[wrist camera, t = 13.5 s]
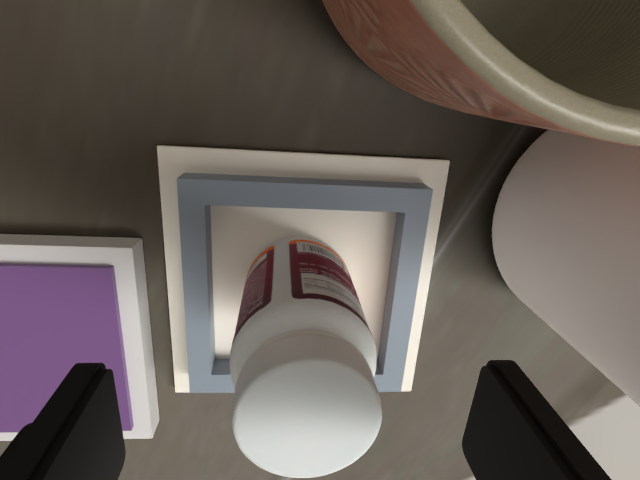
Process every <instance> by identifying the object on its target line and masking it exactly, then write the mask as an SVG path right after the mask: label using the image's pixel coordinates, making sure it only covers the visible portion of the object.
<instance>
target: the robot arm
mask: <svg viewBox="0 0 640 480" xmlns="http://www.w3.org/2000/svg"><path fill="white" fill-rule="evenodd" d="M462 448H463V452H464V455H465V458H466V460H467V462H468V464H469V466H470V468H471V470H472V472H473V474H474V476H475V478H476V480H611V479H610V477H609V476H608V475H607V474H606V473H605V471H604V470H603V469H602V468H601V466H600V465H599V464H598V463H597V462H596V461H595V459H594V458H593V457H592V455H590V453H589V452H588V451H587V449H586V448H585V447H584V446H583V445H582V443H581V442H580V441H579V440H578V439H577V437H576V436H575V435H574V433H573V432H572V431H571V430H570V429H569V427H568V426H567V425H566V424H565V422H564V421H563V420H562V419H561V418H560V416H559V415H558V414H557V413H556V411H555V410H554V409H553V408H552V407H551V405H550V404H549V403H548V402H547V400H546V399H545V398H544V397H543V396H542V394H541V393H540V392H539V391H538V389H537V388H536V387H535V386H534V385H533V383H532V382H531V381H530V380H529V378H528V377H527V376H526V375H525V373H524V372H523V371H522V370H521V369H520V367H519V366H518V365H517V364H516V363H515V362H514V361H512V360H491V361H489V362H488V363H487V365H486V366H483V367H482V369H481V371H480V375H479V379H478V383H477V386H476V390H475V394H474V398H473V402H472V405H471V409H470V413H469V417H468V421H467V424H466V428H465V432H464V436H463V440H462ZM124 460H125V444H124V438H123V431H122V425H121V419H120V413H119V406H118V400H117V394H116V387H115V381H114V375H113V371H112V369H106V367H105V365H104V363H76V364H75V365H74V366H73V367H72V368H71V370H70V371H69V372H68V374H67V375H66V377H65V378H64V379H63V381H62V382H61V384H60V385H59V386H58V388H57V389H56V391H55V392H54V393H53V395H52V396H51V397H50V399H49V400H48V402H47V403H46V404H45V406H44V407H43V409H42V410H41V411H40V413H39V414H38V416H37V417H36V418H35V420H34V421H33V423H29V424H27V425H26V426H24V427H23V428H22V429H21V430H20V431H19V432H18V434H17V435H16V436H15V438H14V439H13V440H12V442H11V443H10V445H9V446H8V447H7V449H6V450H5V451H4V453H3V454H2V455H1V457H0V480H118V477H119V475H120V472H121V470H122V467H123V464H124Z"/></svg>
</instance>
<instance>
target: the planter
mask: <svg viewBox="0 0 640 480" xmlns="http://www.w3.org/2000/svg"><path fill="white" fill-rule="evenodd" d="M322 2H323V4H324V6H325V9H326V11H327V12H328V14H329V16H330V18H331V20H332V22H333V23H334V25H335V27H336V28H337V30H338V31H339V33H340V34H341V36H342V37H343V39H344V40H345V42H346V43H347V44H348V45H349V46H350V48H351V49H352V50H353V51H354V52H355V54H356V55H357V56H358V57H359V58H360V59H361V60H362V61H363V62H364V63H365V64H366V65H367V66H368V67H370V68H371V69H372V70H373V71H374V72H376V73H377V74H378V75H380V76H381V77H382V78H384V79H385V80H386V81H388V82H390V83H391V84H393V85H395V86H396V87H398V88H400V89H401V90H403V91H405V92H407V93H409V94H412V95H414V96H416V97H418V98H421V99H423V100H425V101H428V102H430V103H433V104H437V105H440V106H443V107H446V108H450V109H453V110H457V111H461V112H464V113H468V114H473V115H478V116H482V117H487V118H492V119H497V120H502V121H507V122H511V123H517V124H522V125H527V126H532V127H537V128H543V129H548V130H553V131H558V132H563V133H569V134H574V135H579V136H584V137H588V138H592V139H596V140H602V141H607V142H613V143H618V144H624V145H629V146H640V0H322Z"/></svg>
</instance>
